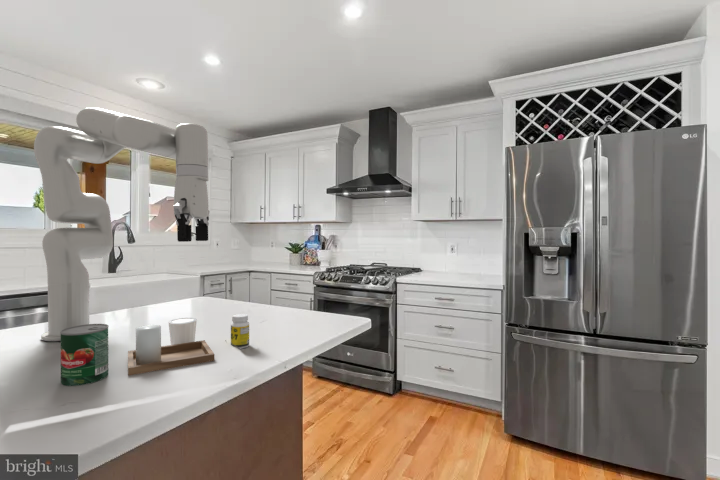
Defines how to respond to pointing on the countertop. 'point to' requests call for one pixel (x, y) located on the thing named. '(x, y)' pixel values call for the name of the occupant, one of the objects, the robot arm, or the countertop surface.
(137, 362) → the white pillar candle
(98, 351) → the canned tomato
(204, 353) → the walnut tray
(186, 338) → the white tapered cup
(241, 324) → the supplement bottle
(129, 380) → the countertop surface
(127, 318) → the countertop surface
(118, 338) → the countertop surface
